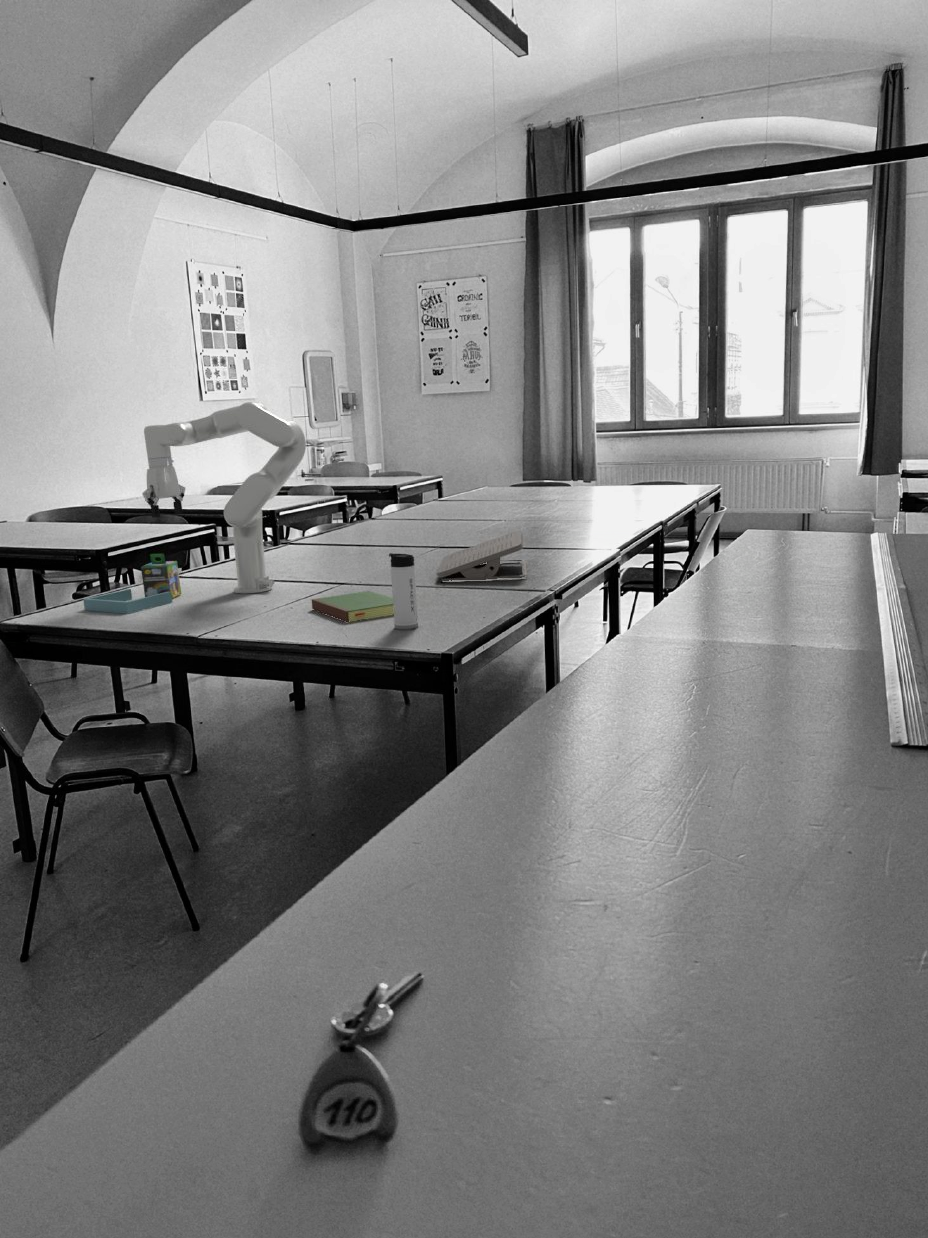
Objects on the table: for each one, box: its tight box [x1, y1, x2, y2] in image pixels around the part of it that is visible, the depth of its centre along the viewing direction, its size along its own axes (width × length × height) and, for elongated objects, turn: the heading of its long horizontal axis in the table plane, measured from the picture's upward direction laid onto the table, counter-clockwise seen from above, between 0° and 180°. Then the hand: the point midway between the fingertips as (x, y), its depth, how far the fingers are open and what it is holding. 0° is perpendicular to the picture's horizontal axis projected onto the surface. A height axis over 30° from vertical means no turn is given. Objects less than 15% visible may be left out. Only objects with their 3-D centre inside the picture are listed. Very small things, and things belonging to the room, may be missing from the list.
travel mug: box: [388, 552, 419, 631], centre depth 261 cm, size 6×7×20 cm
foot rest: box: [436, 530, 528, 582], centre depth 344 cm, size 39×30×13 cm
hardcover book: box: [311, 590, 394, 623], centre depth 287 cm, size 25×19×4 cm
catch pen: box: [83, 588, 173, 615], centre depth 313 cm, size 19×18×4 cm
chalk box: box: [140, 553, 182, 600], centre depth 324 cm, size 9×9×15 cm
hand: (167, 515), depth 327 cm, fingers open, 9 cm apart
